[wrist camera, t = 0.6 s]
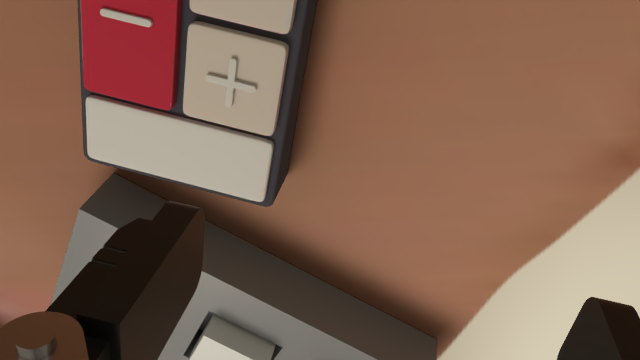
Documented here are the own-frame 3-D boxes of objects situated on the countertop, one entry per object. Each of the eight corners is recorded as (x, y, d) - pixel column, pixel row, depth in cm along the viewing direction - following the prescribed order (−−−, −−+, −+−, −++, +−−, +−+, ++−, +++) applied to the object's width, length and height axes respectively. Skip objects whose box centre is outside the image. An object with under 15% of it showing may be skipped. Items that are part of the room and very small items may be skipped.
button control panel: (320, -88, 22) (268, 217, 30) (337, -95, 26) (287, 178, 33) (59, -148, 23) (74, 166, 30) (112, -146, 26) (114, 133, 34)
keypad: (113, 172, 35) (79, 208, 32) (436, 339, 38) (435, 389, 34) (78, 278, 41) (46, 317, 38) (358, 416, 44) (351, 464, 40)
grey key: (217, 305, 36) (203, 335, 34) (278, 336, 36) (268, 367, 34) (195, 343, 38) (181, 373, 36) (253, 371, 39) (242, 402, 36)
